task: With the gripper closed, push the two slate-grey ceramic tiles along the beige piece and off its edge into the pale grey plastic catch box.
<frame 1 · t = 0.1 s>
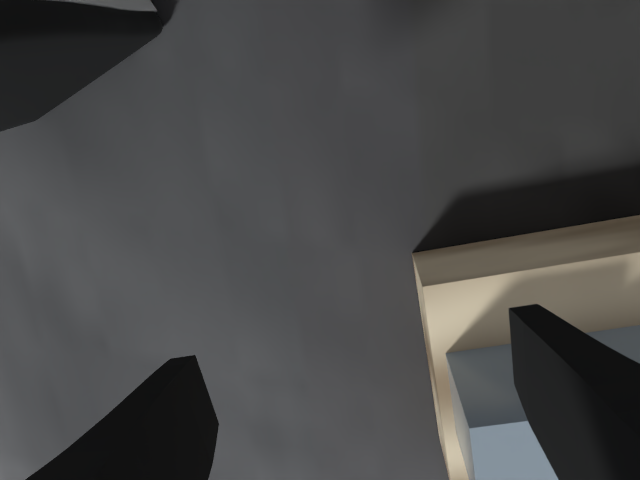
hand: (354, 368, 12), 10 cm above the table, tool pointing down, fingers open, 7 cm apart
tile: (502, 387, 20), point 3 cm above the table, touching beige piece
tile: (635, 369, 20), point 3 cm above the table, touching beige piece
beige piece: (563, 332, 23), on the table
battery charger: (69, 30, 19), on the table
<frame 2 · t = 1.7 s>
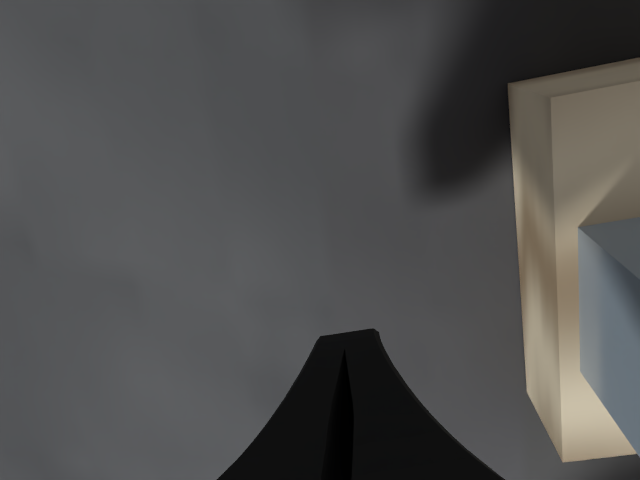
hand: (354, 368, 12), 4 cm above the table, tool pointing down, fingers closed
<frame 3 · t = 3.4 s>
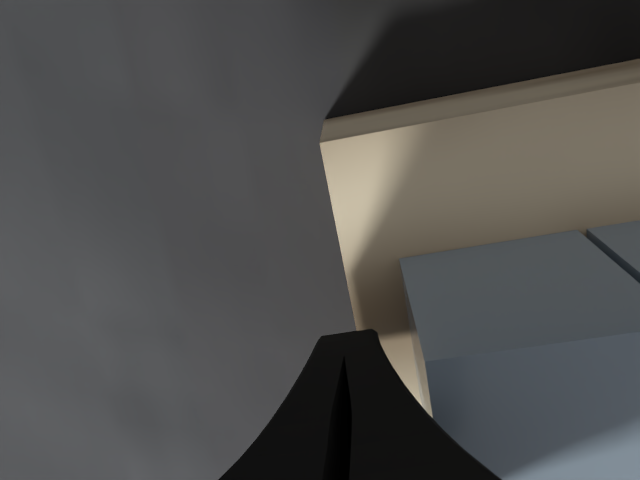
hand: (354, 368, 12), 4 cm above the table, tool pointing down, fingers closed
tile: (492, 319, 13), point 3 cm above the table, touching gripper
beige piece: (559, 251, 15), on the table
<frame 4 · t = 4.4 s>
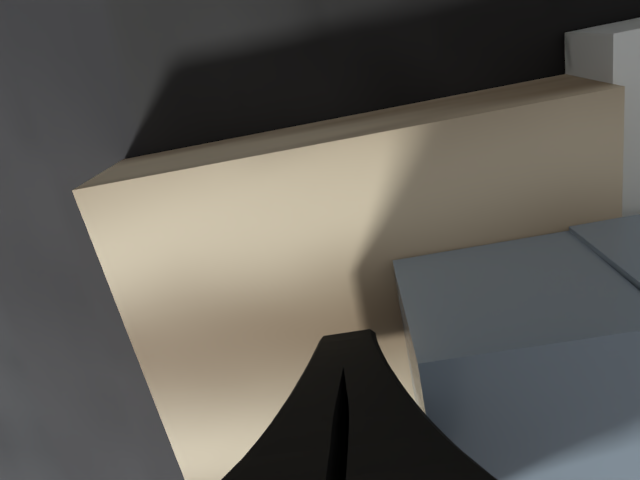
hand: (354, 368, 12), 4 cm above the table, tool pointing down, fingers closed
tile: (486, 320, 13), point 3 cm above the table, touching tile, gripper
beige piece: (364, 282, 16), on the table
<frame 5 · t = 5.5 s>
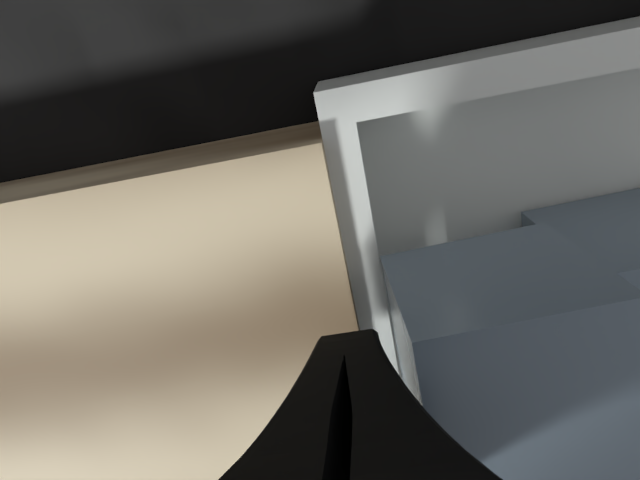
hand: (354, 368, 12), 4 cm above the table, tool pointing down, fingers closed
catch box: (596, 245, 15), on the table
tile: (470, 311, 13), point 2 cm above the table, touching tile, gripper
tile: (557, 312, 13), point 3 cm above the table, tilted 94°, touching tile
beige piece: (169, 313, 16), on the table
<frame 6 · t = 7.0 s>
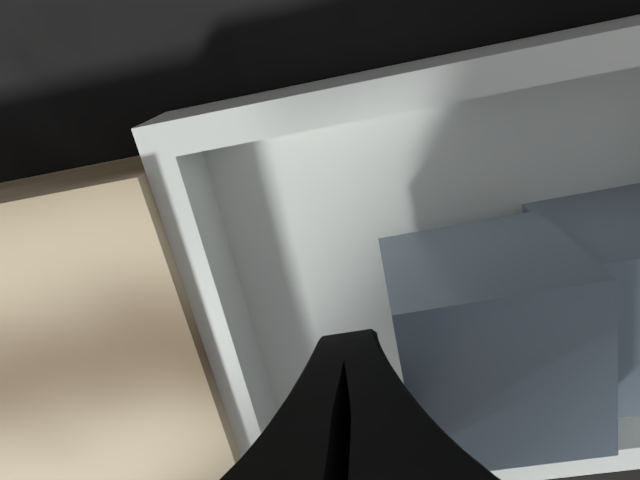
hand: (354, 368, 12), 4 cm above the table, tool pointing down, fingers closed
catch box: (451, 268, 15), on the table
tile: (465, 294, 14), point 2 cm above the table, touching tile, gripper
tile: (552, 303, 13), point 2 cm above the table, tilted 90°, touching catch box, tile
beige piece: (47, 332, 17), on the table
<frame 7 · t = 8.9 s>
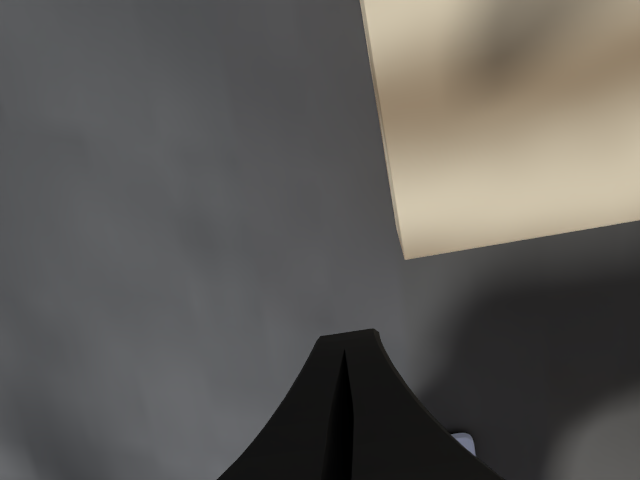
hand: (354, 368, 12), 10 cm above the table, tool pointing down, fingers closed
beige piece: (538, 76, 19), on the table
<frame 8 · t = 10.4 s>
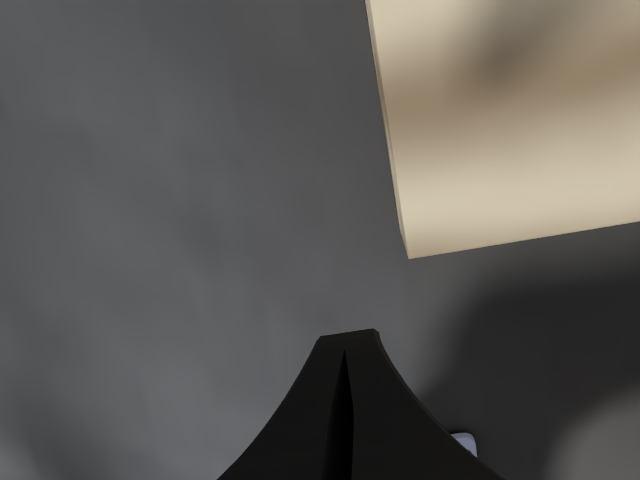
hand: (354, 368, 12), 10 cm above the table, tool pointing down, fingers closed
beige piece: (543, 76, 19), on the table
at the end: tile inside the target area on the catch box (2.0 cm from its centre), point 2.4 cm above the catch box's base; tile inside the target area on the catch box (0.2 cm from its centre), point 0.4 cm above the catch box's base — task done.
